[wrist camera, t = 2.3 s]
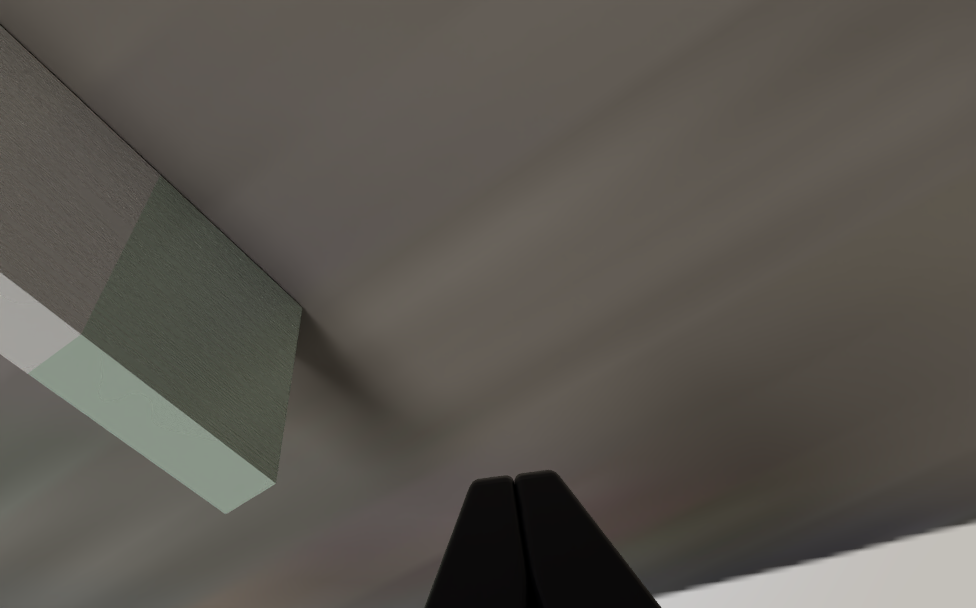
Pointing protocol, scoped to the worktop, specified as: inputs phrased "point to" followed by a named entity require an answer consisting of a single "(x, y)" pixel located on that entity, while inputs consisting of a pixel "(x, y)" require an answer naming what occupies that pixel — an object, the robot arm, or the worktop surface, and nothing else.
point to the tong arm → (135, 296)
